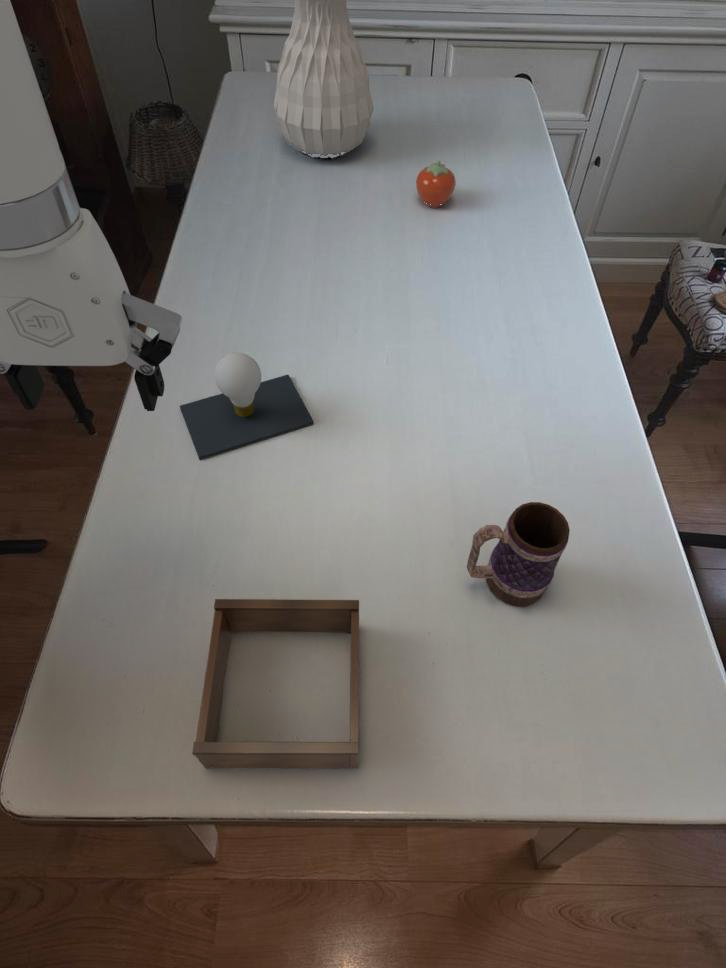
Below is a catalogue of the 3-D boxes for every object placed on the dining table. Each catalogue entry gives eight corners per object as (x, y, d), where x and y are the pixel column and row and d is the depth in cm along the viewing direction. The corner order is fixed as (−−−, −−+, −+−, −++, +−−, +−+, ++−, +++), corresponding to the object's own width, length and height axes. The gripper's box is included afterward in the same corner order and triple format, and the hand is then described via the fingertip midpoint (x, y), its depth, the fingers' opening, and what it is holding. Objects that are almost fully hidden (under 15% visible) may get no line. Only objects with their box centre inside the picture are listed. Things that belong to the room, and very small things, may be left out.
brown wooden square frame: (204, 769, 60) (192, 753, 55) (224, 623, 69) (215, 598, 64) (357, 769, 60) (359, 753, 55) (358, 624, 69) (359, 599, 64)
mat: (199, 460, 82) (198, 457, 81) (180, 408, 87) (179, 405, 87) (313, 424, 86) (313, 421, 86) (288, 377, 91) (288, 374, 91)
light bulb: (225, 432, 84) (212, 377, 76) (222, 401, 87) (209, 345, 79) (269, 426, 85) (261, 371, 77) (264, 395, 88) (256, 340, 80)
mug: (536, 550, 75) (564, 492, 65) (553, 605, 71) (586, 551, 61) (452, 558, 74) (468, 500, 64) (464, 613, 70) (483, 560, 60)
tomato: (456, 211, 119) (463, 169, 112) (418, 214, 118) (422, 171, 111) (447, 191, 123) (453, 149, 117) (410, 193, 122) (414, 151, 116)
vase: (295, 178, 125) (283, -6, 100) (264, 133, 135) (246, -43, 111) (387, 161, 130) (396, -19, 105) (350, 119, 140) (351, -53, 116)
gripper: (-161, 233, 36) (-27, 431, 50) (142, 240, 37) (193, 433, 51) (-106, 169, 41) (3, 366, 55) (163, 176, 42) (204, 369, 55)
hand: (95, 398), depth 53 cm, fingers open, 9 cm apart
